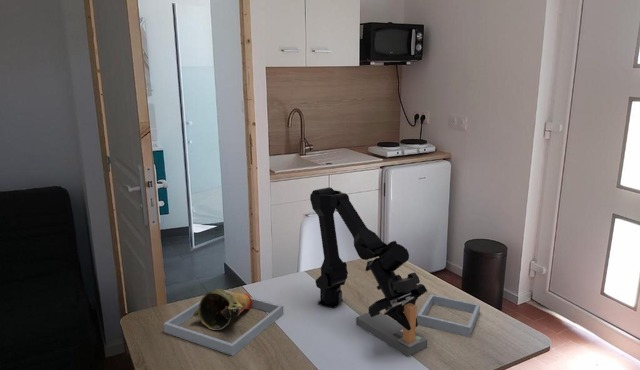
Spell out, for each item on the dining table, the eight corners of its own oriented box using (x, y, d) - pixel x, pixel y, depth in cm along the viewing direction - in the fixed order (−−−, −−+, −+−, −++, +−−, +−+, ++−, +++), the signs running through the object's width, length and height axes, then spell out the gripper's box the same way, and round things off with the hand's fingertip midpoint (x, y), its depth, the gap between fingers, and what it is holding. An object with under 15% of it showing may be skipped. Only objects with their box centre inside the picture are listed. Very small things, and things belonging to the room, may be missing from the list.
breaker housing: (356, 324, 146) (356, 316, 145) (374, 316, 151) (375, 309, 150) (407, 357, 129) (408, 348, 129) (427, 346, 134) (427, 338, 133)
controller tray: (416, 323, 146) (417, 315, 145) (430, 302, 160) (431, 294, 159) (469, 337, 139) (470, 327, 138) (479, 313, 152) (480, 304, 152)
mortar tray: (164, 332, 142) (163, 323, 141) (220, 296, 164) (219, 289, 164) (232, 355, 130) (232, 346, 129) (283, 314, 152) (283, 305, 152)
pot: (266, 280, 155) (231, 286, 137) (272, 318, 152) (237, 328, 135) (221, 289, 162) (182, 295, 145) (226, 325, 160) (187, 335, 142)
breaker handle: (397, 340, 132) (398, 304, 129) (408, 335, 135) (409, 300, 132) (409, 347, 129) (410, 311, 126) (420, 342, 131) (422, 306, 129)
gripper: (376, 274, 124) (406, 329, 118) (424, 257, 135) (453, 307, 129) (356, 290, 132) (383, 343, 126) (402, 273, 143) (429, 321, 137)
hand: (413, 328), depth 129 cm, fingers closed on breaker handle, 2 cm apart
